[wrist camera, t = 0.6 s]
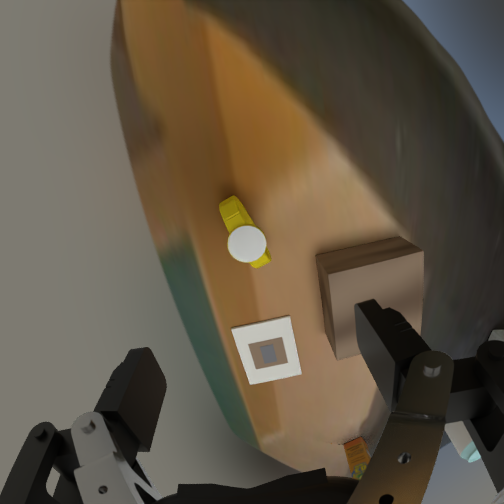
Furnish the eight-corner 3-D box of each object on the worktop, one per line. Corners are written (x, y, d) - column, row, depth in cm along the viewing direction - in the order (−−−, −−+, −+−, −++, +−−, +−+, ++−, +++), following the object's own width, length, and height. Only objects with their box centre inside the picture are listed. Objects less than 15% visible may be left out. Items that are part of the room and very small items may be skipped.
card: (231, 327, 30) (231, 329, 30) (289, 315, 30) (289, 317, 29) (250, 383, 32) (250, 385, 32) (301, 372, 32) (301, 374, 32)
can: (428, 419, 37) (456, 470, 26) (447, 389, 35) (482, 440, 24) (456, 413, 38) (485, 458, 26) (475, 383, 35) (509, 428, 24)
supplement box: (361, 435, 37) (379, 485, 27) (366, 443, 38) (383, 491, 28) (341, 443, 37) (356, 494, 28) (347, 452, 38) (361, 500, 29)
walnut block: (314, 254, 28) (328, 274, 23) (398, 235, 28) (423, 250, 23) (325, 332, 31) (336, 360, 26) (400, 311, 30) (420, 334, 26)
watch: (214, 203, 26) (206, 216, 21) (241, 187, 26) (240, 195, 20) (249, 258, 28) (250, 285, 22) (275, 244, 27) (283, 267, 22)
